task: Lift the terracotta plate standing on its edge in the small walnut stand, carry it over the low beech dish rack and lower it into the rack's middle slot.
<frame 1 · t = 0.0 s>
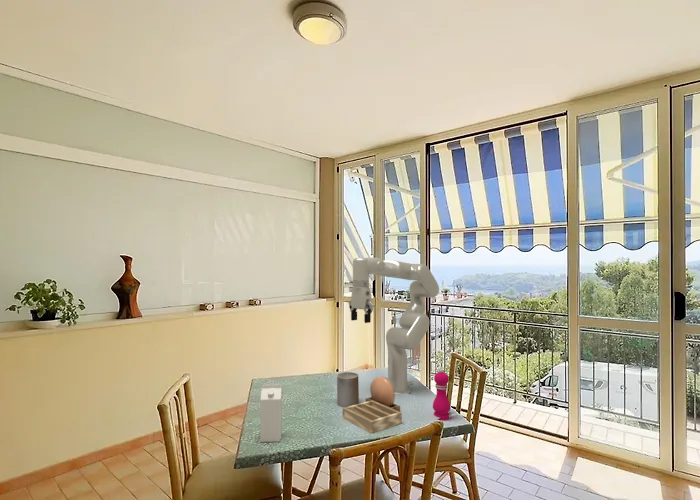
hand: (360, 321, 185), 37 cm above the table, tool pointing down, fingers open, 9 cm apart
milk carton: (271, 438, 145), on the table
pepper mill: (441, 417, 165), on the table
stand: (382, 410, 173), on the table
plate: (382, 407, 173), point 1 cm above the table, touching stand
pillar candle: (347, 406, 178), on the table
rack: (371, 423, 159), on the table
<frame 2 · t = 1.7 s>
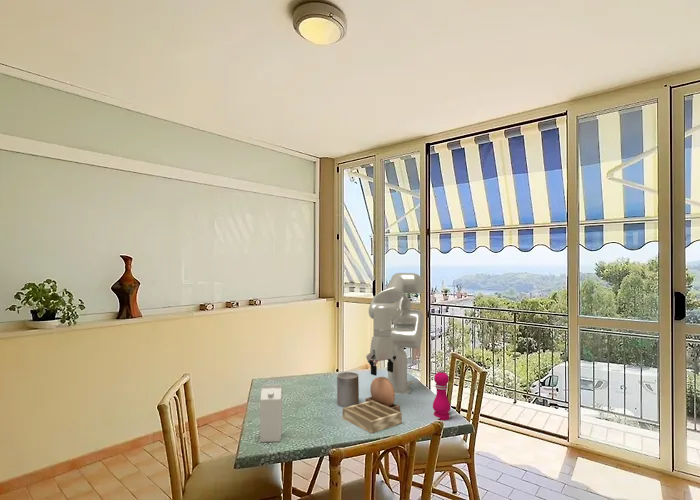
hand: (382, 373, 173), 16 cm above the table, tool pointing down, fingers open, 9 cm apart
nothing on the table moved.
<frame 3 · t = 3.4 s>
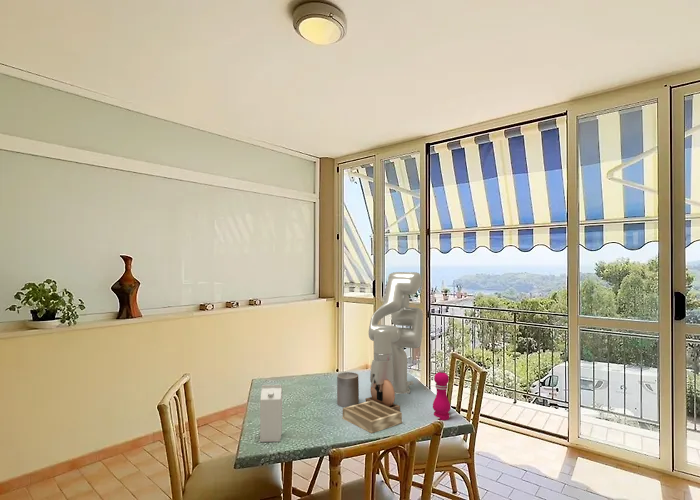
hand: (382, 399, 173), 5 cm above the table, tool pointing down, fingers closed on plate, 2 cm apart
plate: (382, 407, 173), point 1 cm above the table, touching gripper, stand
everything else where it was.
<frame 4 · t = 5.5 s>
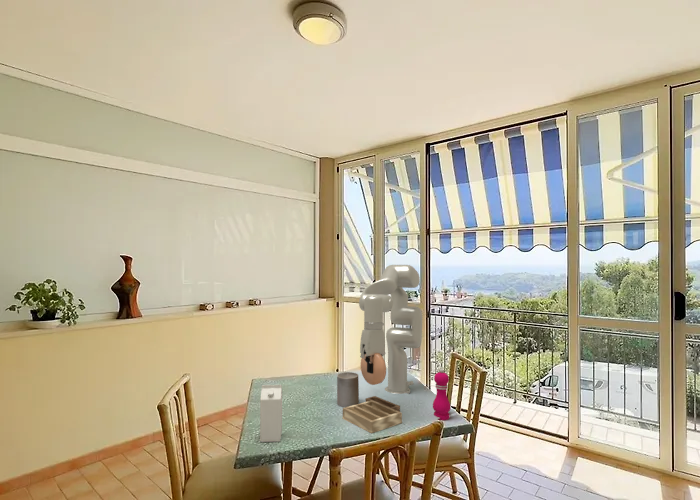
hand: (373, 371, 161), 20 cm above the table, tool pointing down, fingers closed on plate, 2 cm apart
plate: (372, 383, 161), point 15 cm above the table, touching gripper
everything else where it was.
when the fingers open (6 cm above the table, at t = 7.4 s): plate stays where it is, resting on rack.
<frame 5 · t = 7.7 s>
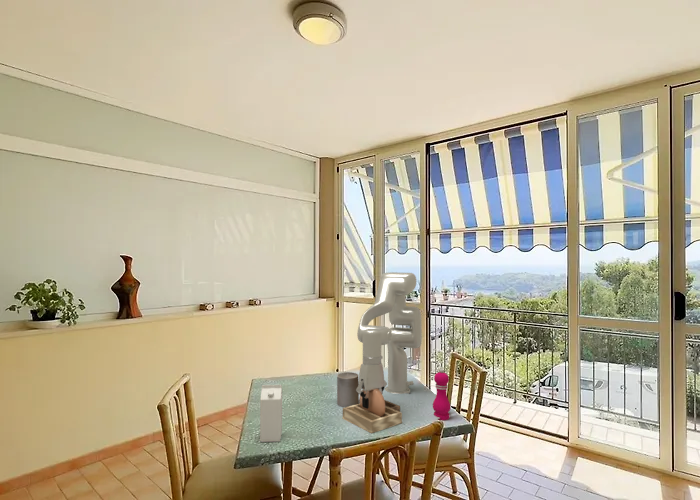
hand: (371, 405, 159), 7 cm above the table, tool pointing down, fingers open, 6 cm apart
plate: (371, 419, 159), point 1 cm above the table, touching rack
everything else where it was.
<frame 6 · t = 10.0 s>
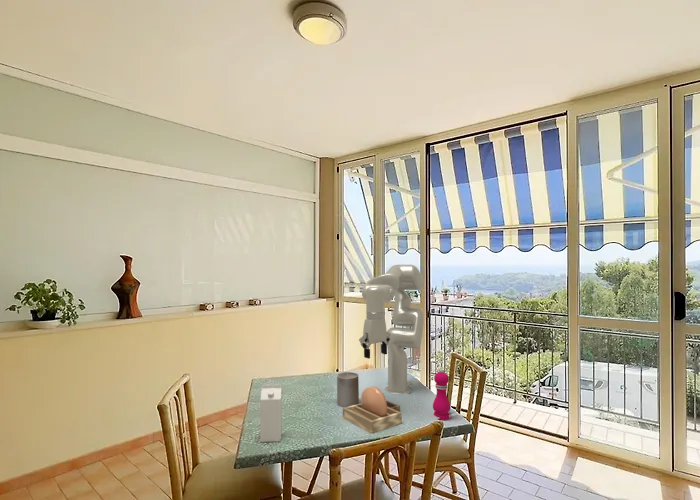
hand: (375, 355, 170), 24 cm above the table, tool pointing down, fingers open, 9 cm apart
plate: (371, 419, 159), point 1 cm above the table, tilted 10°, touching rack
everything else where it was.
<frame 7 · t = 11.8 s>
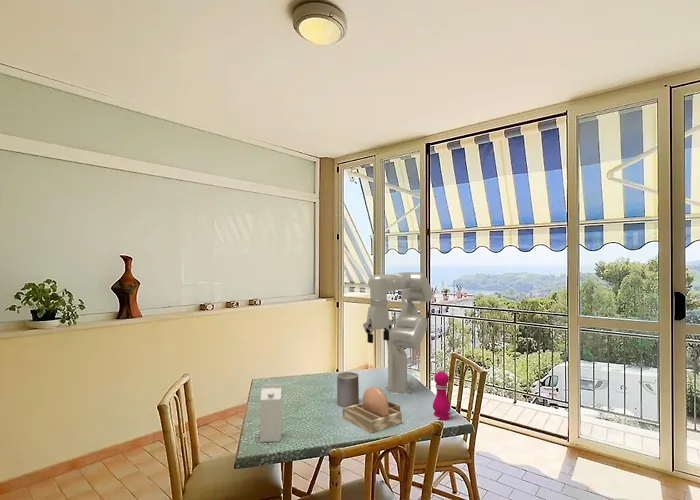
hand: (378, 341, 181), 28 cm above the table, tool pointing down, fingers open, 9 cm apart
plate: (371, 419, 159), point 2 cm above the table, tilted 18°, touching rack
everything else where it was.
at the end: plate inside the target area on the rack (0.2 cm from its centre), point 1.5 cm above the rack's base; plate tilted 17°; the gripper is holding nothing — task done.
